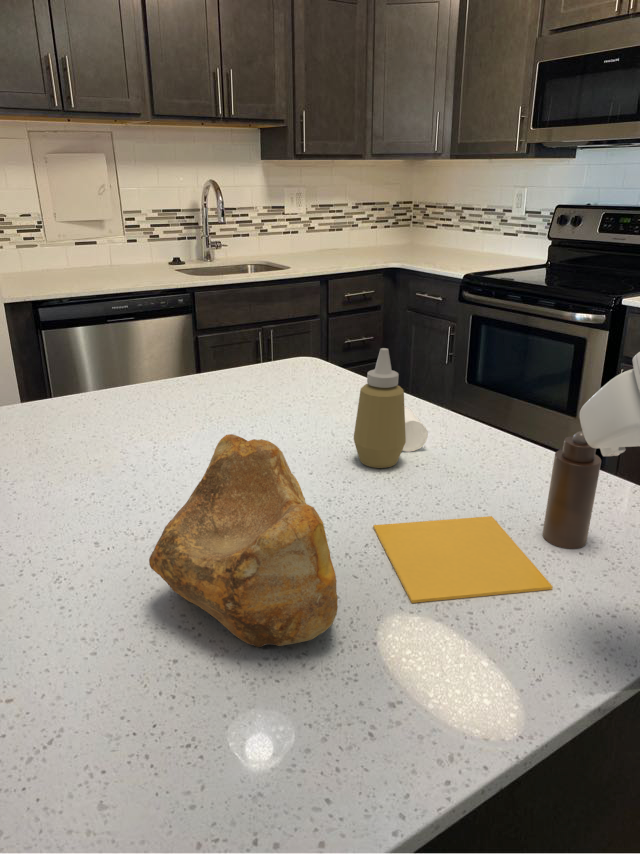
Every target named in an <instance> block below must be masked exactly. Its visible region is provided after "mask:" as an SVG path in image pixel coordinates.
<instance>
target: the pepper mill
mask: <svg viewBox="0 0 640 854" xmlns="http://www.w3.org/2000/svg"><path fill="white" fill-rule="evenodd" d="M562 445H563V446H562V449H559V450H557V451H556V452H554V456H553V463H552V465H553V466H552V471H551V476H550V482H549V490H548V497H547V502H546V508H545V514H544V515H545V516H544V522H543V526H542V527H543V528H542V534H541V535H542V537H543V539H544V540H545V541H546V542H547V543H549V544H550V545H552V546H556V547H558V548H562V549H567V550H575V549H580V548H583V547H585V546H586V544H587V543H588V537H589V531H590V526H591V521H592V520H591V519H592V515H593V509H594V503H595V498H596V493H597V487H598V482H599V475H600V471H601V465H602V459H601V457H600V456H599V455H598V454H596V452H597V448H592V447H590V446H589V444H588V443H587V441H586V439H585V437H584V434H583V431H582V430H581V431H580V430H579V431H576V432H575V433H574V434H573V435H570V436H566V437H565V438H564V440H563V444H562Z"/></svg>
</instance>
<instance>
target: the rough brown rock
mask: <svg viewBox="0 0 640 854" xmlns="http://www.w3.org/2000/svg"><path fill="white" fill-rule="evenodd" d="M148 562H149V564H148V565H149V567H150V569H151V570H152V571H153V572H155V573H156V574H157V575H159V576H160V578H161V579H162V581H164V582H165V583H166V584H167V585H168V586H169V587H170V589H171V590H172V591H173V592H174V593H176V594H177V595H179V596H180V597H182V598H183V599H184V600H186V601H188V602H189V603H191V604H193V605H195V606H197V607H199V608H200V609H201V610H203V611H204V612H206V613H207V614H209V615H210V616H211V617H213V618H214V619H215V620H216V621H218V622H219V623H220V624H221V625H222V626H223V627H225V628H226V629H227V630H228V631H229V632H230V633H231V634H232V635H234V636H235V637H236V638H238V639H239V640H241V641H242V642H244V643H245V644H248V645H250V646H254V647H256V648H260V647H263V646H265V645H273V646H277V647H283V646H289V645H294V644H299V643H304V642H308V641H312V640H313V639H315V638H316V637H318V636H320V635H321V634H323V633H325V632H326V631H327V630H328V629H330V627H331V626H332V625H333V624H334V621H335V619H336V617H337V614H338V601H339V600H338V599H339V598H338V593H337V576H336V572H335V567H334V565H333V564H334V563H333V561H332V558H331V551H330V547H329V543H328V539H327V535H326V530H325V525H324V521H323V520H322V518H321V516H320V515H319V514H318V512H317V510H316V508H315V507H314V506H312V505H310V504H308V503H307V502H306V498H305V496H304V493H303V490H302V487H301V485H300V482H299V481H298V479H297V478H296V476H295V475H294V473H292V471H291V469H290V466H289V464H288V462H287V460H286V458H285V455H284V453H283V451H282V450H281V449H280V448H279V446H278V445H276V444H275V443H273V442H272V441H270V440H265V439H263V438H262V439H250V440H248V439H246V438H243V437H241V436H239V435H236V434H234V433H233V434H232V433H231V434H230V433H229V434H226V435H224V436H223V437H222V438H220V440H219V441H218V443H217V444H216V447H215V448H214V451H213V454H212V457H211V459H210V461H209V464H208V466H207V468H206V470H205V472H204V474H203V476H202V478H201V479H200V481H199V482H198V483H197V485H196V486H195V488H194V490H193V491H192V492H191V494H190V496H189V498H188V499H187V501H186V502H185V503H184V505H183V506H182V507H181V508H180V509H179V510H177V512H176V514H175V515H174V516H173V517H172V518H171V520H170V521H169V522H168V523H167V524H166V525H165V527H164V528H163V531H162V533H161V535H160V537H159V538H158V540H157V542H156V544H155V546H154V547H153V550H152V552H151V554H150V556H149V559H148Z"/></svg>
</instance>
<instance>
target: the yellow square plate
mask: <svg viewBox="0 0 640 854" xmlns="http://www.w3.org/2000/svg"><path fill="white" fill-rule="evenodd" d="M372 528H373V530H374V532H375V534H376V536H377V538H378V540H379V543H380V544H381V546H382V548H383V550H384V552H385V554H386V556H387V558H388V560H389V561H390V563H391V566H392V567H393V568H392V569H394V572H395V573H396V576H397V578H398V580H399V581H400V583H401V586H402V587H403V589H404V591H405V593H406V595H407V598H408V599H409V602H410V603H411V604H417V603H428V602H437V601H447V600H457V599H468V598H479V597H488V596H498V595H509V594H520V593H529V592H539V591H549V590H550V591H551V590H553V584H551V583H550V581H549V580H548V579H547V578H546V577H545V575H543V574H542V572H541V571H540V570H539V569H538V568H537V566H536V565H535V564H534V563H533V562H532V561H531V560H530V558H529V557H528V556H527V555H526V554H525V553H524V552H523V550H522V549H521V548H520V547H519V546H518V545H517V543H516V542H515V541H514V540H513V539H512V537H511V536H510V535H509V534H508V532H506V531H505V529H504V528H503V527H502V526H501V525H500V523H499V522H497V520H496V519H495V518H494V517H493V516H492V515H487V516H475V517H462V518H449V519H438V520H437V519H436V520H423V521H422V520H421V521H411V522H400V523H399V522H397V523H384V524H373V526H372Z"/></svg>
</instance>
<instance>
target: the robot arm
mask: <svg viewBox="0 0 640 854" xmlns="http://www.w3.org/2000/svg"><path fill="white" fill-rule="evenodd" d="M631 362H632V367H633V368H632V369H627V370H625V371H623V372H621V373H619V374H617V375H615V376H614V377H613V378H611V379H609V381H607V382H606V383H605V384H604V385H603V386H601V387H600V388H599V389H598V390H597V391H596V392H595V393H594V394H593V395H592V396H591V397H590V398H589V399H588V400H587V401H586V402H585V403H584V404H583V405H582V406H581V409H580V410H579V423H580V427H581V431H583V434H584V437H585V439H586V441H587V443H588V444H589V446H590V447H592V448H596V449H599V450H600V454H601V456H602V457H618V456H620V455H621V454H623V453H625V451H627V448H632V447H634V448H635V447H640V351H638V352H637V353H636V354H635V355H634V356H633V357H632V360H631Z"/></svg>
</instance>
